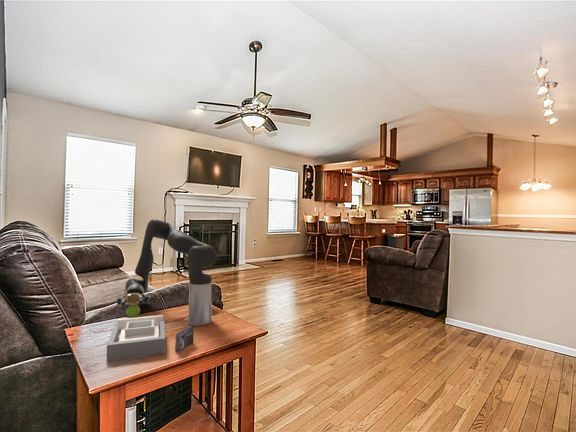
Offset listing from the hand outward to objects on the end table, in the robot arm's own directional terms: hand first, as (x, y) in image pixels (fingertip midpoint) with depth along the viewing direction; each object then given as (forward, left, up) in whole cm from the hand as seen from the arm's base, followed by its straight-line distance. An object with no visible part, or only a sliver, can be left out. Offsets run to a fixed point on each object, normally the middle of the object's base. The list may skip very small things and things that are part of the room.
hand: (131, 303), depth 129 cm
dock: (-4, +23, -9) cm, 25 cm away
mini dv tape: (-19, +30, -9) cm, 37 cm away
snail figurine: (0, -3, -7) cm, 7 cm away
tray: (-4, +14, -8) cm, 17 cm away
